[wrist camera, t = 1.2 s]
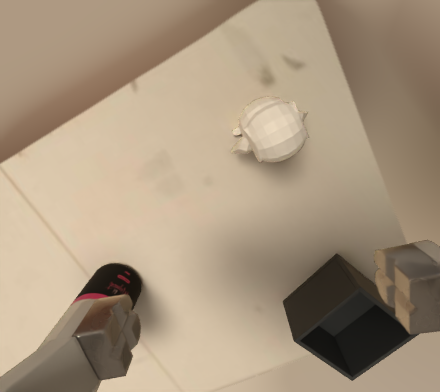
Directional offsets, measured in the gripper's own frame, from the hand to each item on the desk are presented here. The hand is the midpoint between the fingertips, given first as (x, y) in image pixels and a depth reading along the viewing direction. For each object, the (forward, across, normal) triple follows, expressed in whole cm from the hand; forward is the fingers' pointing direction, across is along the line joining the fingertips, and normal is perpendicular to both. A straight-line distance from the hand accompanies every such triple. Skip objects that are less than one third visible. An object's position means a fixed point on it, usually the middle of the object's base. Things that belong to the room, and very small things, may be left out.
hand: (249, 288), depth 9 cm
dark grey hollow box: (+23, -9, +22) cm, 33 cm away
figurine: (+23, -3, -3) cm, 24 cm away
